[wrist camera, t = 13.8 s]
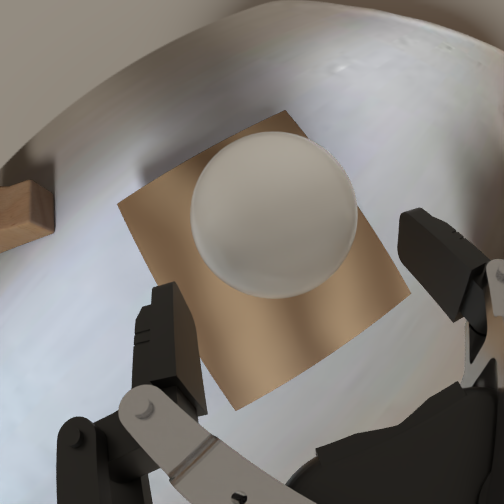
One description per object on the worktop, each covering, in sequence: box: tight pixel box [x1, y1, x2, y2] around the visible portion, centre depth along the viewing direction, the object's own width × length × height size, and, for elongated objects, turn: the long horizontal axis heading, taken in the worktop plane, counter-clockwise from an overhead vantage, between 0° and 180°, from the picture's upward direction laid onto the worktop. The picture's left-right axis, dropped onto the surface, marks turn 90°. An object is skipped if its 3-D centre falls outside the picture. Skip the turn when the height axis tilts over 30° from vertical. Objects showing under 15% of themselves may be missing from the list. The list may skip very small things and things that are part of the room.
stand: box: [117, 110, 411, 411], centre depth 23 cm, size 14×16×6 cm
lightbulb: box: [190, 131, 358, 299], centre depth 14 cm, size 6×6×11 cm
